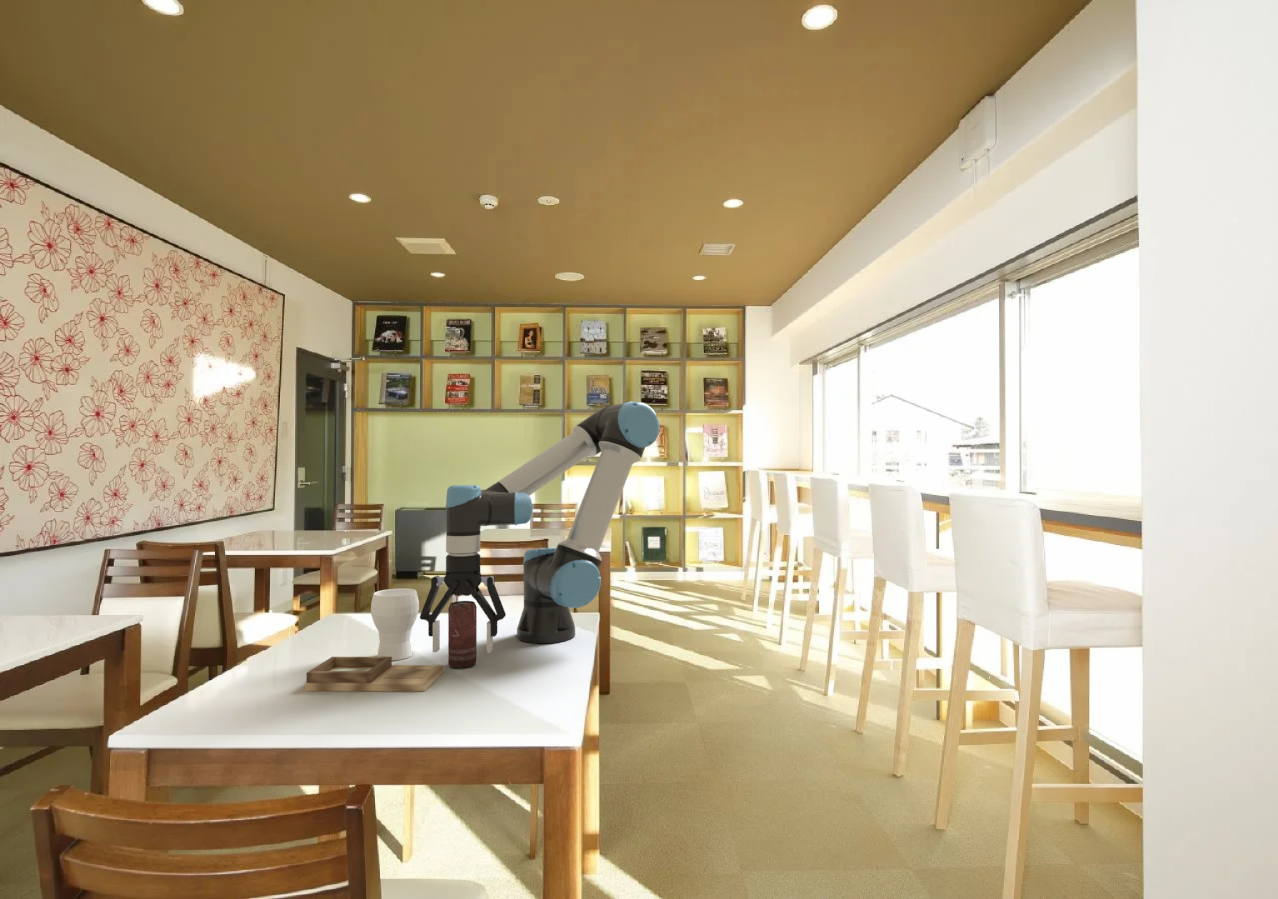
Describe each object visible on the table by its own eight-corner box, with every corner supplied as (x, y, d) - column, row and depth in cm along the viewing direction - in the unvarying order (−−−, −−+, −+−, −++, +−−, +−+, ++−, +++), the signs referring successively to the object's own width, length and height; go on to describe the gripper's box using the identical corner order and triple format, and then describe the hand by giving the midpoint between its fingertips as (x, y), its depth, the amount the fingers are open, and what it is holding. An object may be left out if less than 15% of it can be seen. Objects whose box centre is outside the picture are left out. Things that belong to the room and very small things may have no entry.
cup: (360, 659, 156) (360, 594, 156) (396, 647, 165) (396, 586, 165) (393, 665, 151) (393, 598, 151) (428, 653, 160) (428, 590, 160)
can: (470, 670, 147) (470, 606, 147) (443, 668, 148) (443, 605, 149) (482, 662, 153) (482, 600, 153) (456, 660, 154) (456, 599, 155)
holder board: (443, 672, 146) (443, 656, 146) (424, 691, 134) (424, 673, 134) (333, 672, 146) (333, 656, 146) (305, 691, 134) (305, 673, 134)
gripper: (519, 551, 155) (518, 646, 154) (416, 551, 155) (416, 646, 155) (512, 555, 147) (512, 655, 147) (404, 555, 148) (404, 655, 147)
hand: (462, 650), depth 151 cm, fingers open, 11 cm apart
